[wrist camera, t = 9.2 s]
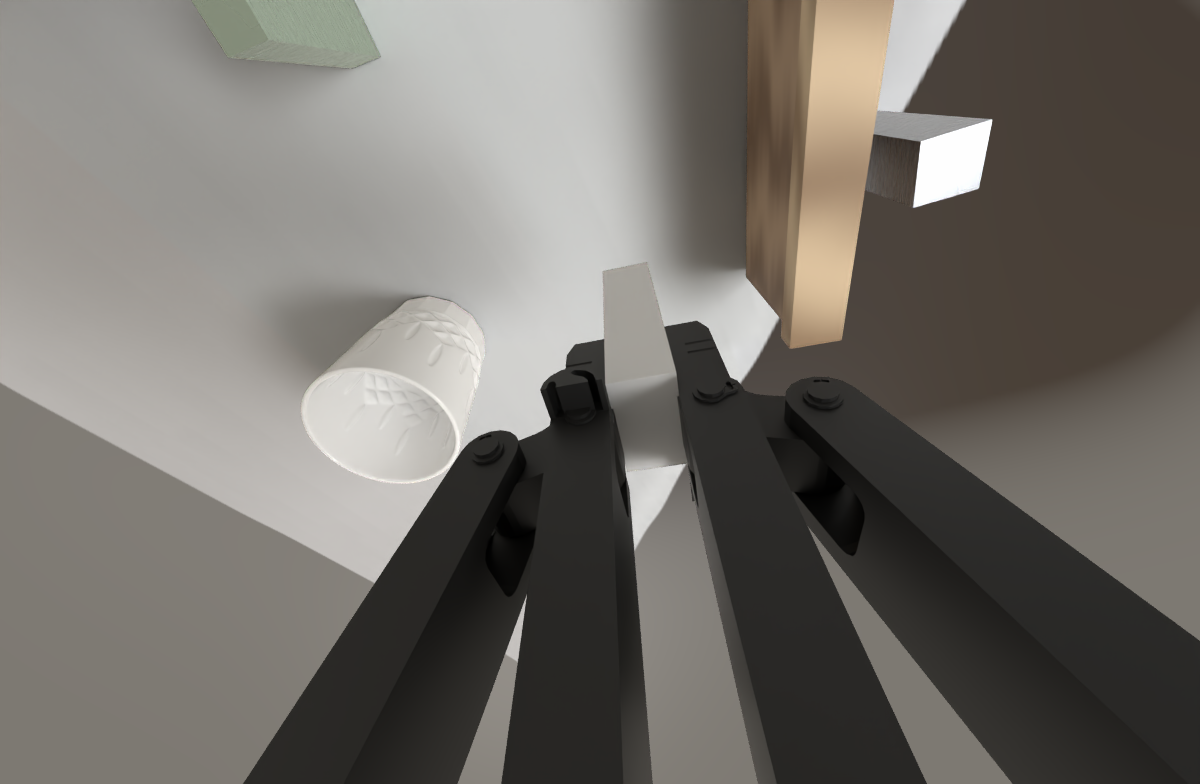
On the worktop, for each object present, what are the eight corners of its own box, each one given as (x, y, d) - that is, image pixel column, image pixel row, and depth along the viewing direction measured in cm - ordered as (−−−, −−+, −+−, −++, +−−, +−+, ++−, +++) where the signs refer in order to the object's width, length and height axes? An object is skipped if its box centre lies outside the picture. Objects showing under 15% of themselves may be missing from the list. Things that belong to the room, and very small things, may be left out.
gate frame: (881, -270, 16) (1188, -649, 8) (860, 158, 24) (998, 193, 16) (312, -10, 20) (116, -80, 12) (462, 283, 28) (409, 363, 20)
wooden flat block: (741, -70, 18) (829, -163, 11) (799, -86, 18) (923, -189, 11) (741, 285, 27) (789, 348, 21) (779, 278, 27) (841, 340, 20)
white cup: (442, 402, 34) (394, 502, 25) (356, 329, 30) (267, 419, 22) (517, 350, 31) (490, 443, 23) (433, 263, 27) (366, 338, 19)
